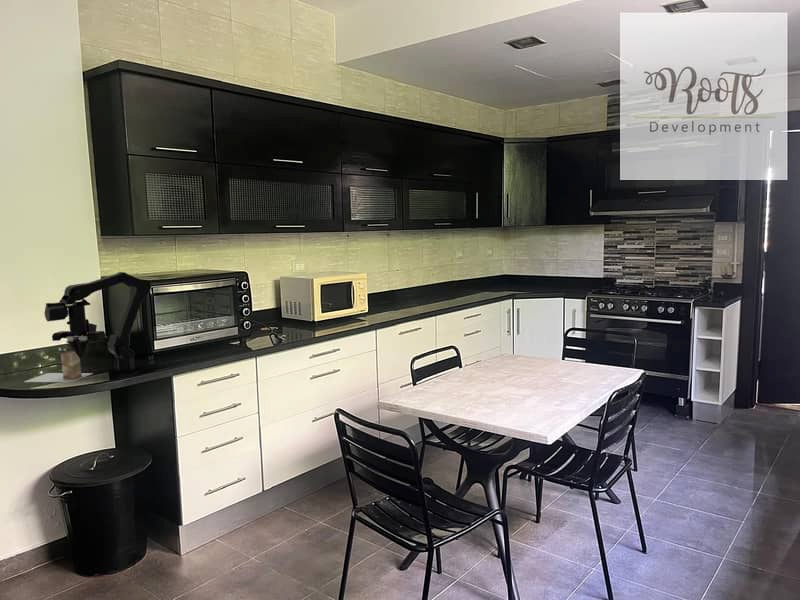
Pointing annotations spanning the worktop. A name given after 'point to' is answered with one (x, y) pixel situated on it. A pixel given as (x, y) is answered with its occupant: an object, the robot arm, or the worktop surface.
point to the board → (55, 378)
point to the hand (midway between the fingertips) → (81, 357)
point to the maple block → (70, 365)
